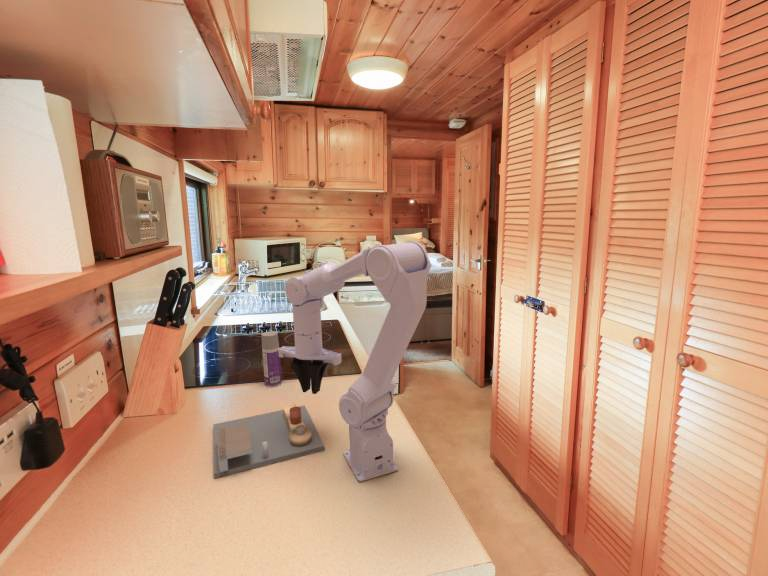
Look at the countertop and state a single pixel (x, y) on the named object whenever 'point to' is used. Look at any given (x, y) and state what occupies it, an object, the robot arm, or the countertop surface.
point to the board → (267, 441)
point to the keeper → (232, 444)
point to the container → (271, 359)
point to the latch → (297, 426)
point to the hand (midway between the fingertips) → (311, 391)
